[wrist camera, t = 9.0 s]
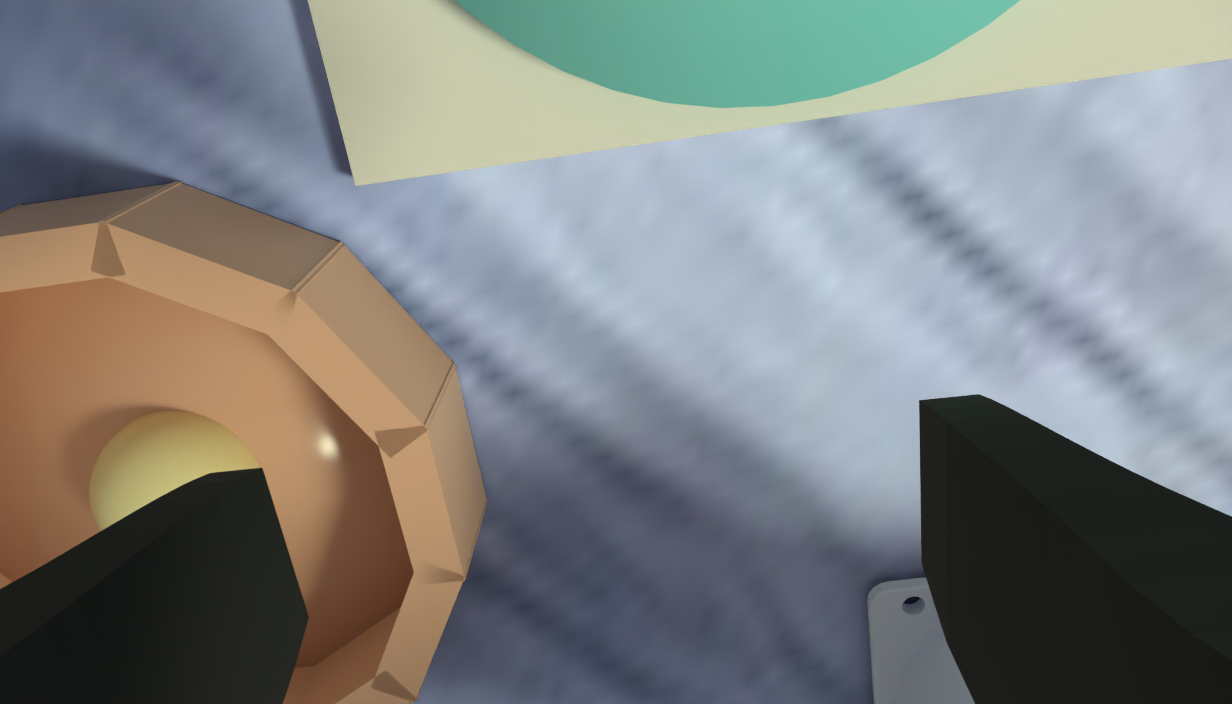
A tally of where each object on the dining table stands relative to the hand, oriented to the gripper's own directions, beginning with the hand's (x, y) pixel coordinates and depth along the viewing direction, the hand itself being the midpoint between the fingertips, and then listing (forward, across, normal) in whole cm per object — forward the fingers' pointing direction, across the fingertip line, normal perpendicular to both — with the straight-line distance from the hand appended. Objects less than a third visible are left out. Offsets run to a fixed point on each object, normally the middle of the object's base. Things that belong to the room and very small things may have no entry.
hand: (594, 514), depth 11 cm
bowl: (+10, +10, +4) cm, 15 cm away
